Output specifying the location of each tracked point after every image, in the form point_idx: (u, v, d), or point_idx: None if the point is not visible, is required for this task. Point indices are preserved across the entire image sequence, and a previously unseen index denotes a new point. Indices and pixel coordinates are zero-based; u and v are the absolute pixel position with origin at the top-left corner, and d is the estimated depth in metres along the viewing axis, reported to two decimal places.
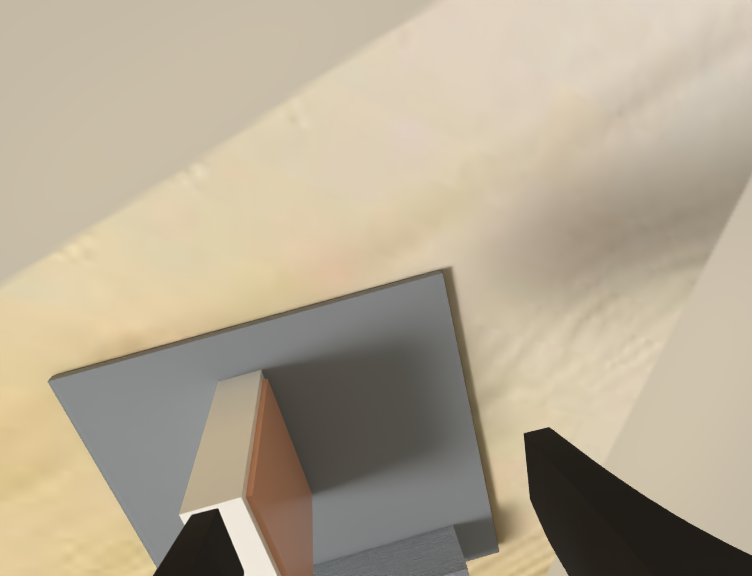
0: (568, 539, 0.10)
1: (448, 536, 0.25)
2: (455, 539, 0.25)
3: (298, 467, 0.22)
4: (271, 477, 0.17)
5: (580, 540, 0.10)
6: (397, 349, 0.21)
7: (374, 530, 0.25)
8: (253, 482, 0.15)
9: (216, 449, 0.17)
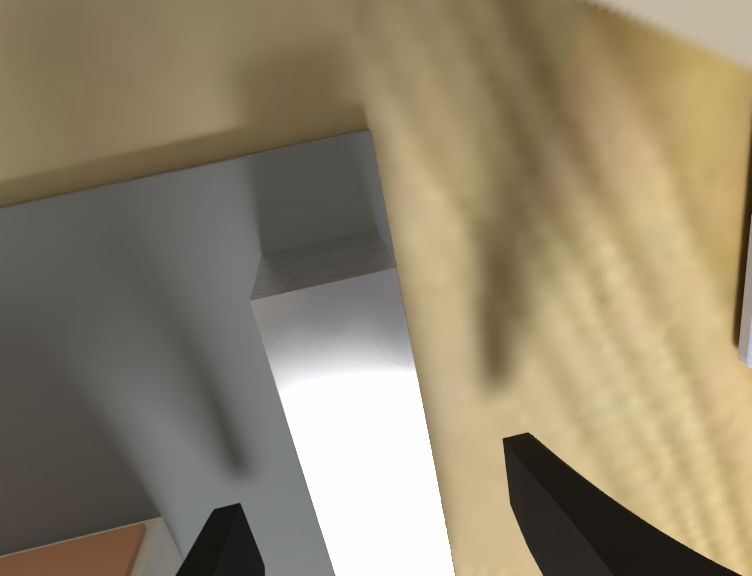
0: (544, 545, 0.10)
1: None
2: None
3: (47, 562, 0.12)
4: None
5: (555, 546, 0.10)
6: None
7: (261, 413, 0.12)
8: None
9: None
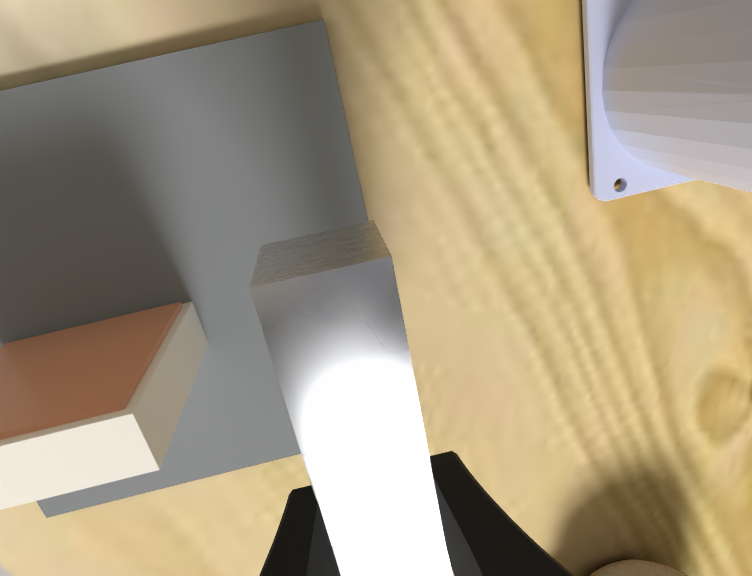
0: (459, 567, 0.10)
1: None
2: None
3: (118, 321, 0.18)
4: None
5: (464, 570, 0.10)
6: None
7: (258, 222, 0.18)
8: None
9: None
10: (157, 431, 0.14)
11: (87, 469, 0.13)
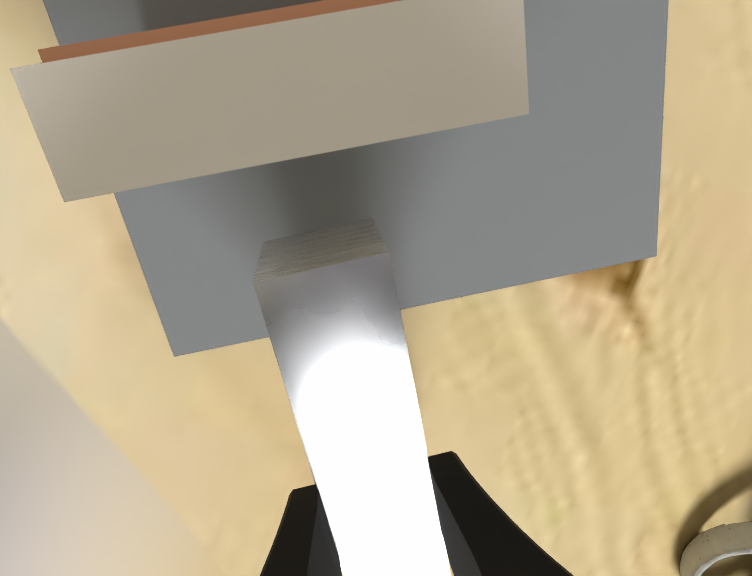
0: (458, 567, 0.10)
1: None
2: None
3: None
4: None
5: (464, 570, 0.10)
6: None
7: None
8: None
9: None
10: None
11: (419, 97, 0.07)
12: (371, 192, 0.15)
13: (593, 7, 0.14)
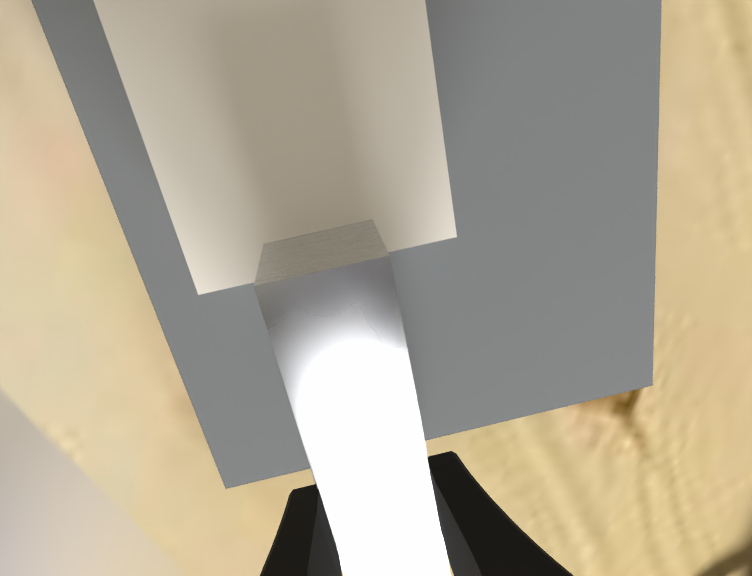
0: (459, 567, 0.10)
1: None
2: None
3: None
4: None
5: (464, 570, 0.10)
6: None
7: (534, 123, 0.15)
8: None
9: None
10: None
11: None
12: None
13: (591, 195, 0.16)
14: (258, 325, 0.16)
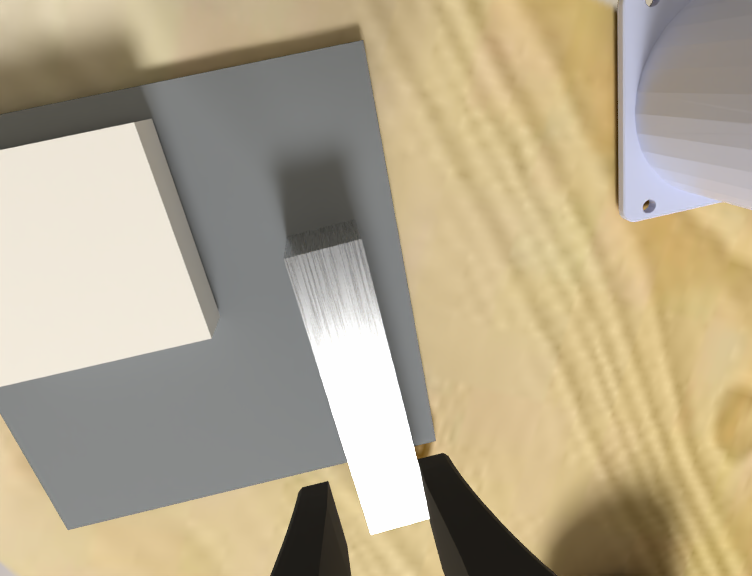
0: (449, 569, 0.10)
1: (305, 265, 0.16)
2: (311, 255, 0.16)
3: None
4: None
5: (454, 572, 0.10)
6: None
7: None
8: None
9: None
10: (149, 145, 0.15)
11: None
12: (203, 416, 0.20)
13: None
14: (77, 399, 0.19)
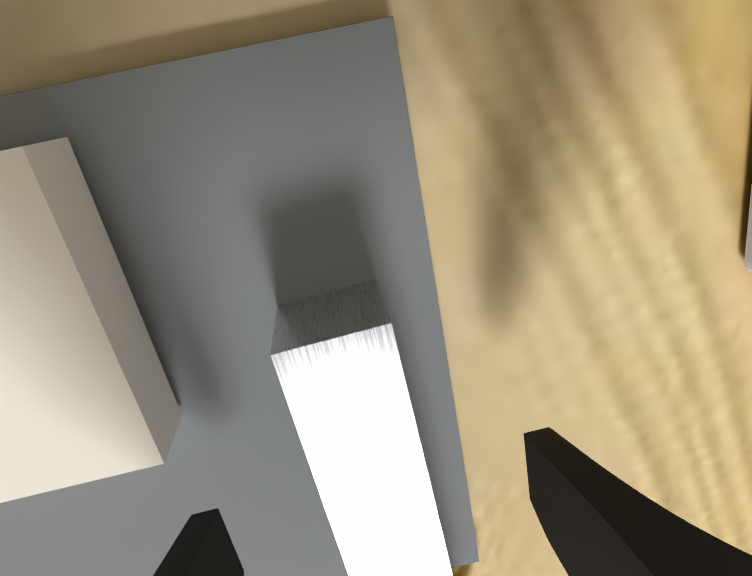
0: (568, 539, 0.10)
1: (304, 363, 0.10)
2: (313, 348, 0.10)
3: None
4: None
5: (580, 540, 0.10)
6: None
7: None
8: None
9: None
10: (57, 181, 0.10)
11: None
12: (163, 543, 0.15)
13: None
14: None
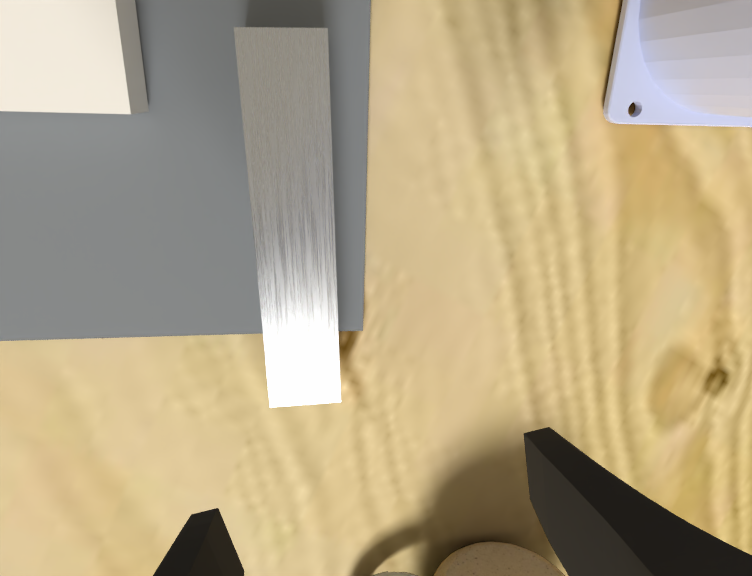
0: (568, 539, 0.10)
1: (257, 43, 0.14)
2: (266, 31, 0.14)
3: None
4: None
5: (580, 540, 0.10)
6: None
7: None
8: None
9: None
10: None
11: None
12: (105, 235, 0.18)
13: None
14: None
